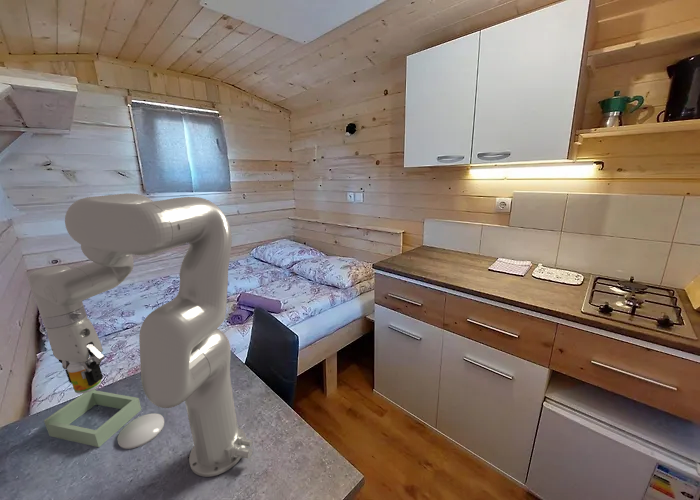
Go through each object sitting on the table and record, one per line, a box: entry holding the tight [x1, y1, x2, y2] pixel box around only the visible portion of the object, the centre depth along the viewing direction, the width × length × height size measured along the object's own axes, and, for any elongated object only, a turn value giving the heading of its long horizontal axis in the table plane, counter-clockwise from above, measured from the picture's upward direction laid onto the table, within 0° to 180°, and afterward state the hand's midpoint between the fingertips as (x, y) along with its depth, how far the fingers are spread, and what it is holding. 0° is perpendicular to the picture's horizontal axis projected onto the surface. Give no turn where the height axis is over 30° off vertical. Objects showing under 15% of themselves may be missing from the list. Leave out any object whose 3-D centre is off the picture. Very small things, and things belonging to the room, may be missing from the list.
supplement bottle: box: [67, 355, 102, 395], centre depth 76 cm, size 5×5×10 cm
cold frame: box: [43, 388, 142, 448], centre depth 80 cm, size 16×12×5 cm
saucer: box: [117, 413, 165, 450], centre depth 78 cm, size 10×10×1 cm
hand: (86, 380), depth 77 cm, fingers closed on supplement bottle, 5 cm apart
